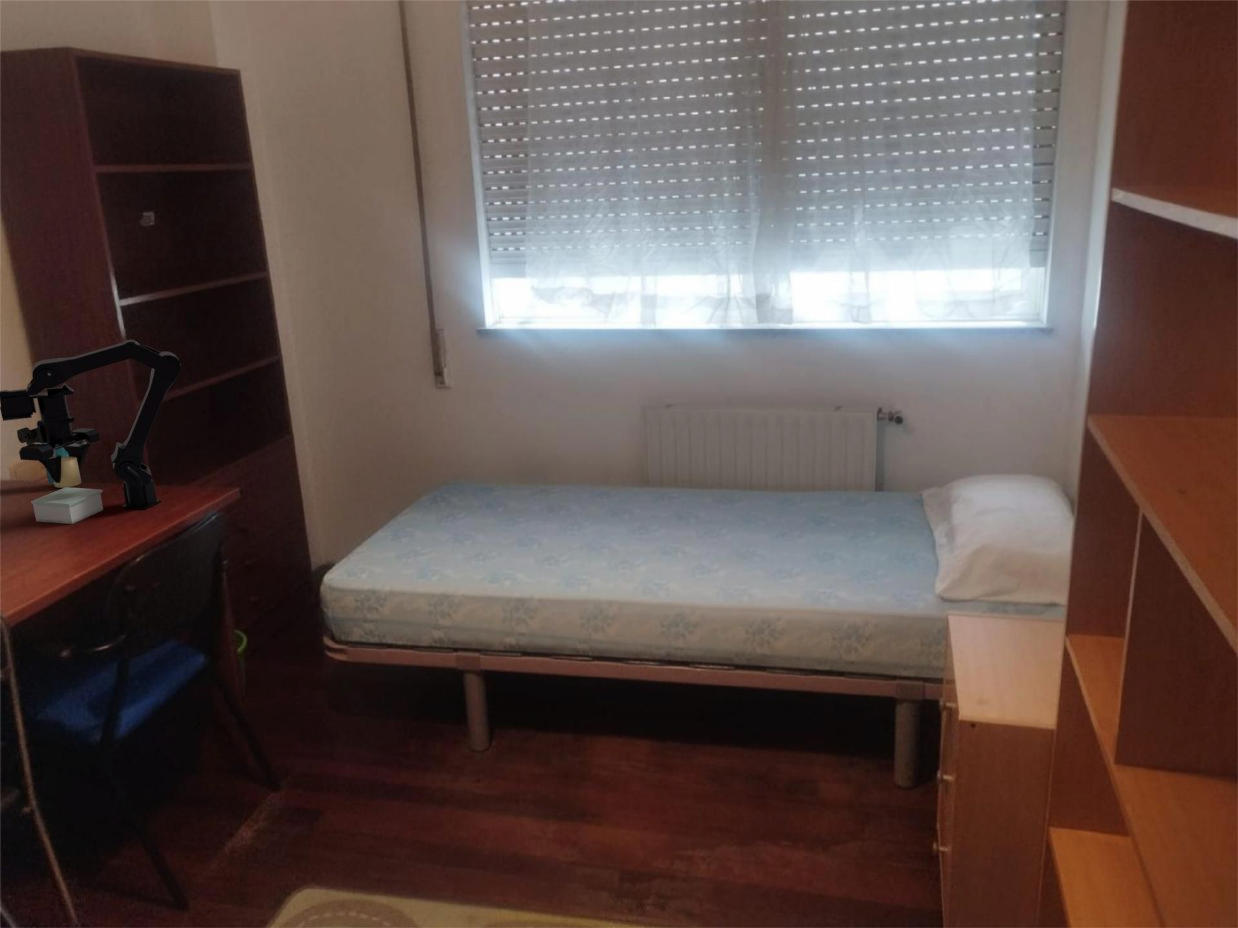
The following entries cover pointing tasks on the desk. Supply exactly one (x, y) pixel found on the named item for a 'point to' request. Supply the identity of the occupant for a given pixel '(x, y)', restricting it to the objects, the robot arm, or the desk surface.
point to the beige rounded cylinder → (69, 472)
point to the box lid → (67, 496)
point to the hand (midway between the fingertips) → (67, 479)
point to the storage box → (68, 511)
